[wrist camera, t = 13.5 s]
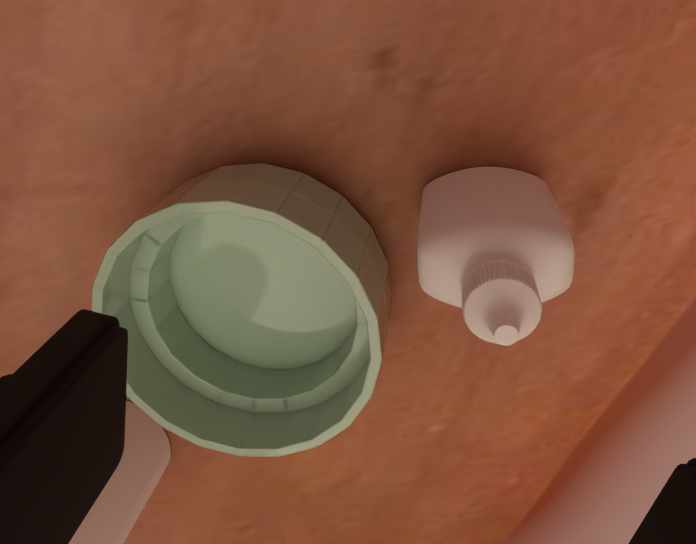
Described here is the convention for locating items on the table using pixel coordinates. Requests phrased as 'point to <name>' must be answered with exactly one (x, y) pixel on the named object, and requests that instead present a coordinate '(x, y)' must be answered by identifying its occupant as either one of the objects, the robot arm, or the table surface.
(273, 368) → the bowl
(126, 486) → the cylindrical container
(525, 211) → the eye dropper bottle
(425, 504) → the table surface
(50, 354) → the robot arm
